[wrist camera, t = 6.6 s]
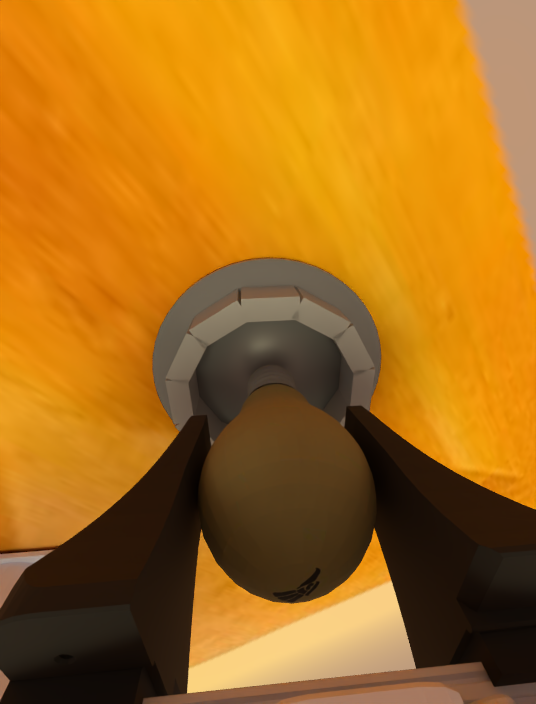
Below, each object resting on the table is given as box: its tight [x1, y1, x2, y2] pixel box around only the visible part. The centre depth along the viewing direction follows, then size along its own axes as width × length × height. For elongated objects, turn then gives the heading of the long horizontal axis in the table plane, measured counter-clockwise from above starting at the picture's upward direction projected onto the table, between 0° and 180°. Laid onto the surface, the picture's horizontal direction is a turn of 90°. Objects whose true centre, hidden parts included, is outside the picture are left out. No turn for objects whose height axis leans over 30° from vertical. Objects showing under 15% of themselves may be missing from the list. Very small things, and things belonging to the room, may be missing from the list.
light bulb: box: [198, 365, 377, 603], centre depth 12 cm, size 6×6×10 cm
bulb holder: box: [153, 258, 381, 446], centre depth 16 cm, size 12×12×2 cm
